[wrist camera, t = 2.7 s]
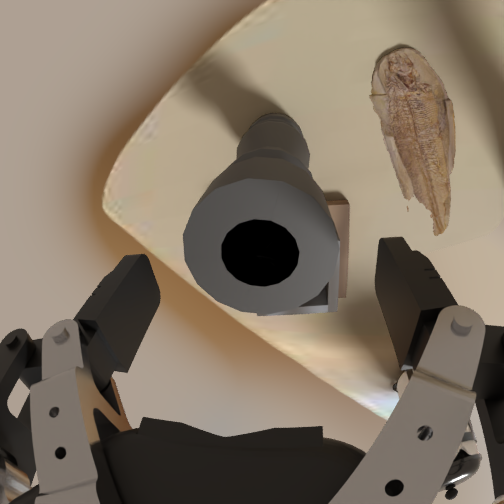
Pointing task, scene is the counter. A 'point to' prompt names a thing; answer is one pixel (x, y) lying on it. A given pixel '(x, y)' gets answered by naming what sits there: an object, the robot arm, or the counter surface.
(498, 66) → the counter surface
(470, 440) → the coffee press
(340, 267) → the collar socket
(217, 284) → the candle holder
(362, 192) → the counter surface
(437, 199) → the fish fossil
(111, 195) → the counter surface
